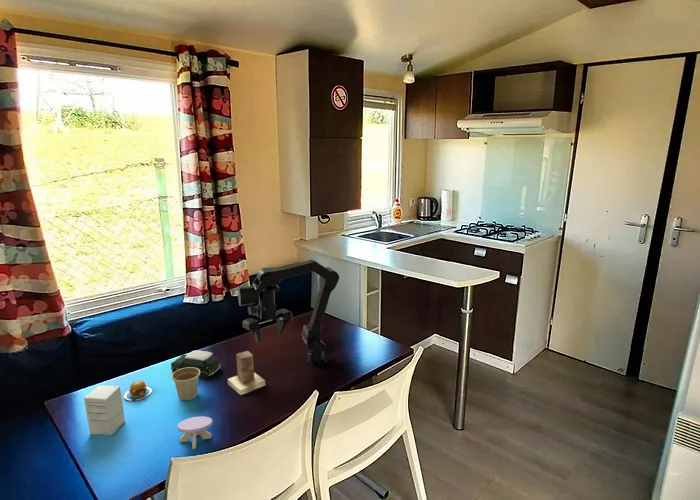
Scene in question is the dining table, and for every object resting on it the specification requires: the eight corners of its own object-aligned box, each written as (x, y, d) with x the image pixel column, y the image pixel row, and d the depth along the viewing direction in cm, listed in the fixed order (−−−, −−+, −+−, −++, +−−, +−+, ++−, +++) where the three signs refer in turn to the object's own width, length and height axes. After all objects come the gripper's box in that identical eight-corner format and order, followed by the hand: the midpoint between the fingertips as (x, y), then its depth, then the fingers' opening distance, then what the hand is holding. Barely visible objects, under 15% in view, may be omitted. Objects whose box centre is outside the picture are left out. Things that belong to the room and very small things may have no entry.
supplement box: (104, 419, 142) (98, 384, 139) (125, 421, 142) (121, 385, 139) (88, 434, 135) (82, 397, 132) (111, 436, 135) (106, 399, 132)
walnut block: (249, 375, 165) (247, 350, 163) (254, 380, 162) (253, 355, 160) (237, 378, 163) (236, 354, 161) (242, 384, 159) (241, 358, 157)
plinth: (251, 374, 170) (251, 369, 169) (265, 385, 162) (265, 380, 162) (227, 384, 163) (227, 378, 163) (240, 395, 156) (240, 389, 156)
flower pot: (207, 391, 159) (205, 369, 157) (190, 405, 150) (188, 382, 148) (186, 386, 162) (184, 365, 160) (168, 400, 153) (165, 378, 151)
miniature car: (183, 363, 179) (181, 345, 177) (223, 369, 174) (221, 350, 173) (169, 374, 171) (167, 355, 169) (210, 380, 166) (208, 361, 164)
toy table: (216, 430, 137) (215, 413, 136) (208, 449, 129) (206, 432, 127) (185, 430, 137) (183, 414, 136) (174, 449, 129) (172, 432, 127)
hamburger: (111, 402, 153) (109, 388, 152) (137, 384, 164) (135, 371, 163) (139, 408, 150) (138, 393, 148) (164, 389, 161) (162, 376, 160)
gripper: (276, 291, 178) (278, 327, 182) (234, 301, 166) (236, 340, 170) (292, 298, 170) (293, 335, 173) (248, 310, 158) (251, 350, 162)
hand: (268, 340), depth 170 cm, fingers open, 9 cm apart
